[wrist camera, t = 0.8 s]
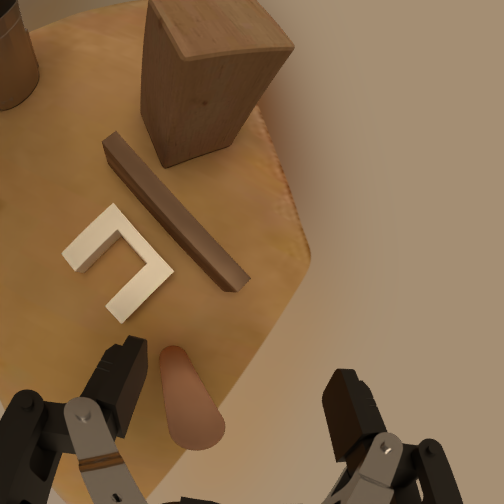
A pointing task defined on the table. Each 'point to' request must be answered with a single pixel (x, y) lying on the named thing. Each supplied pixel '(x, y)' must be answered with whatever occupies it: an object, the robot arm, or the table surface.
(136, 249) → the notched block
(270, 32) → the wooden block
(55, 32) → the table surface
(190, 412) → the dowel
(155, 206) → the wall
